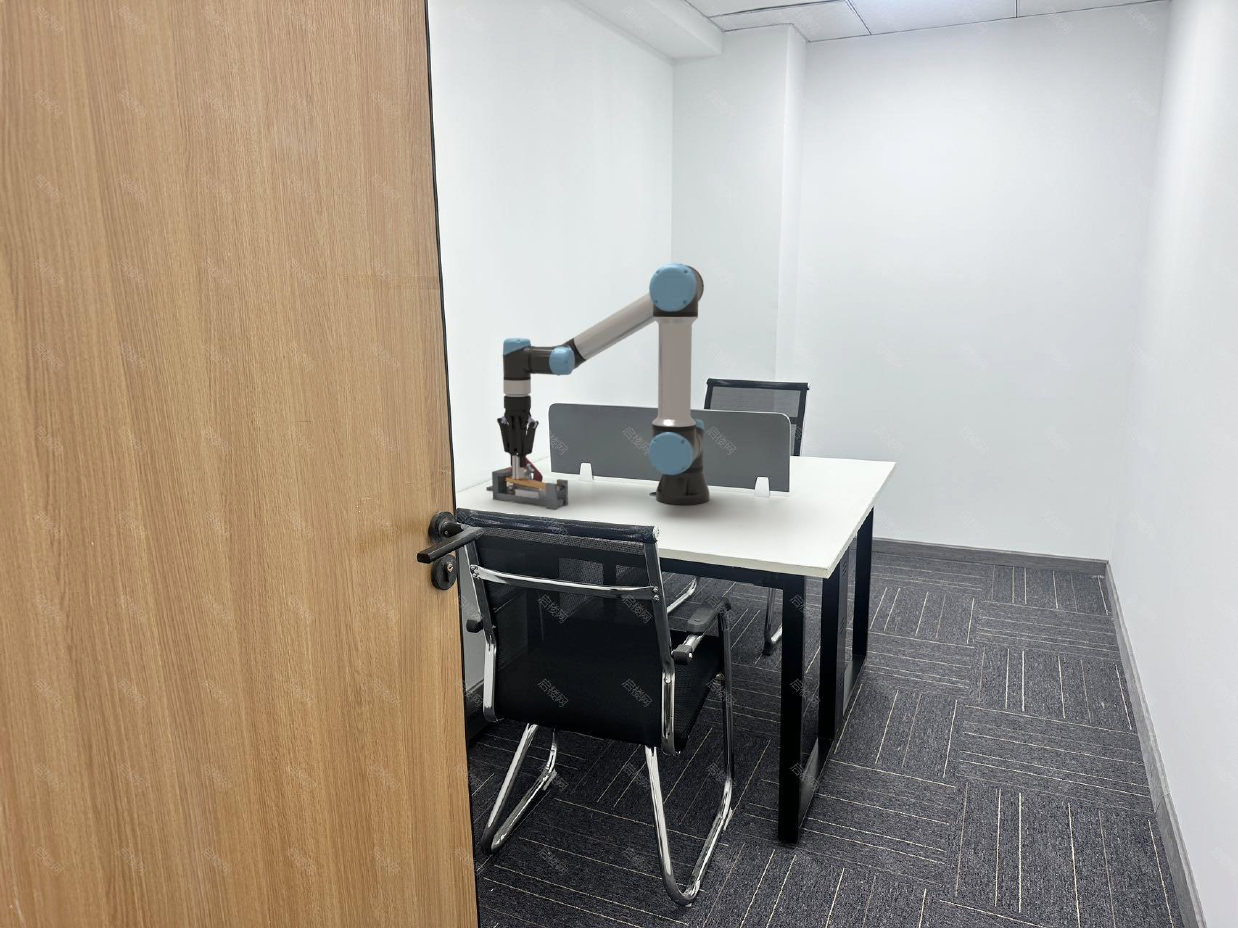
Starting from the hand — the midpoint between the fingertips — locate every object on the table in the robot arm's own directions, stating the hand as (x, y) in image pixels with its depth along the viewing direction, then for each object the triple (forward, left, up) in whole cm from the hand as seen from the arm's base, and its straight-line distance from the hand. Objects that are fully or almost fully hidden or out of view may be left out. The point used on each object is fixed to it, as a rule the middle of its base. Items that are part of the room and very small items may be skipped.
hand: (518, 478), depth 237 cm
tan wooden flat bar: (-5, 0, -2) cm, 6 cm away
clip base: (-3, 0, -7) cm, 7 cm away
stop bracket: (+14, -12, -7) cm, 20 cm away
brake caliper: (+5, -8, -7) cm, 12 cm away
